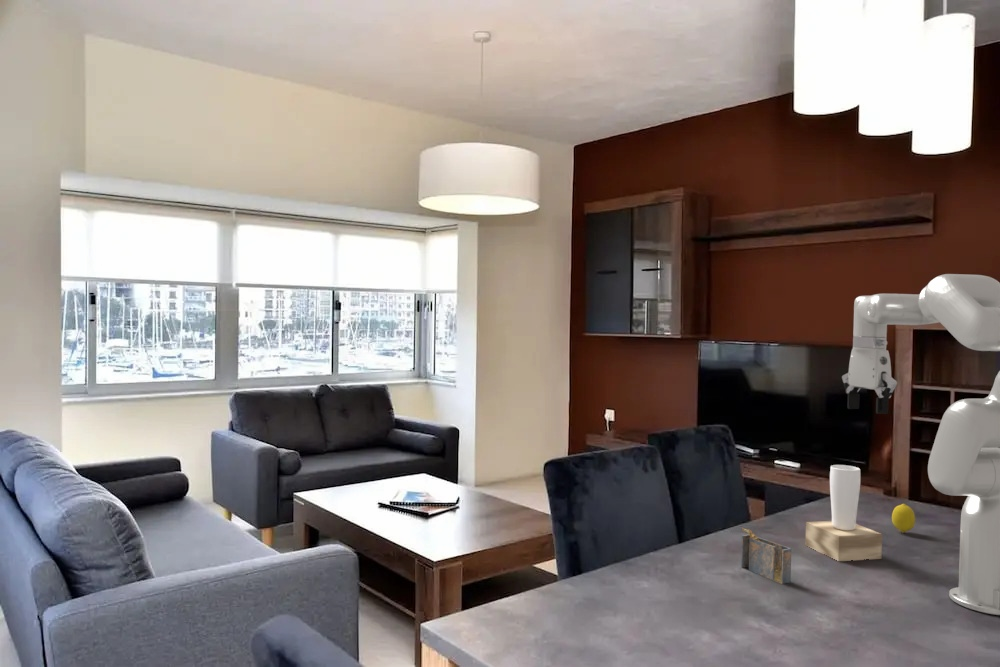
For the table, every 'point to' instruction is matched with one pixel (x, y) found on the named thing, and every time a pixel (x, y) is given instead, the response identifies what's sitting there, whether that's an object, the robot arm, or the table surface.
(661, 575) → the table surface
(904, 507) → the lemon
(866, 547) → the wooden block
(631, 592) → the table surface
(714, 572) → the table surface
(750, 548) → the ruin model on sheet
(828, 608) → the table surface
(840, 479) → the drinking glass
